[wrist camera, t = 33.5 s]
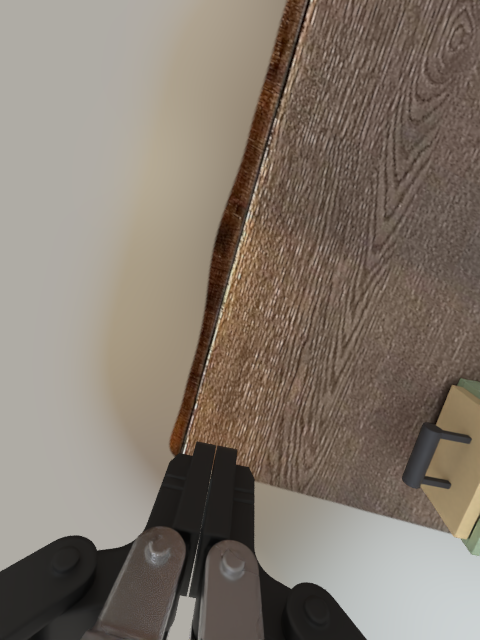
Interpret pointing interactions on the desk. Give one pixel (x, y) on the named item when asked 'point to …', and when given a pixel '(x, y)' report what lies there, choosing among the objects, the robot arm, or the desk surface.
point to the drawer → (450, 462)
